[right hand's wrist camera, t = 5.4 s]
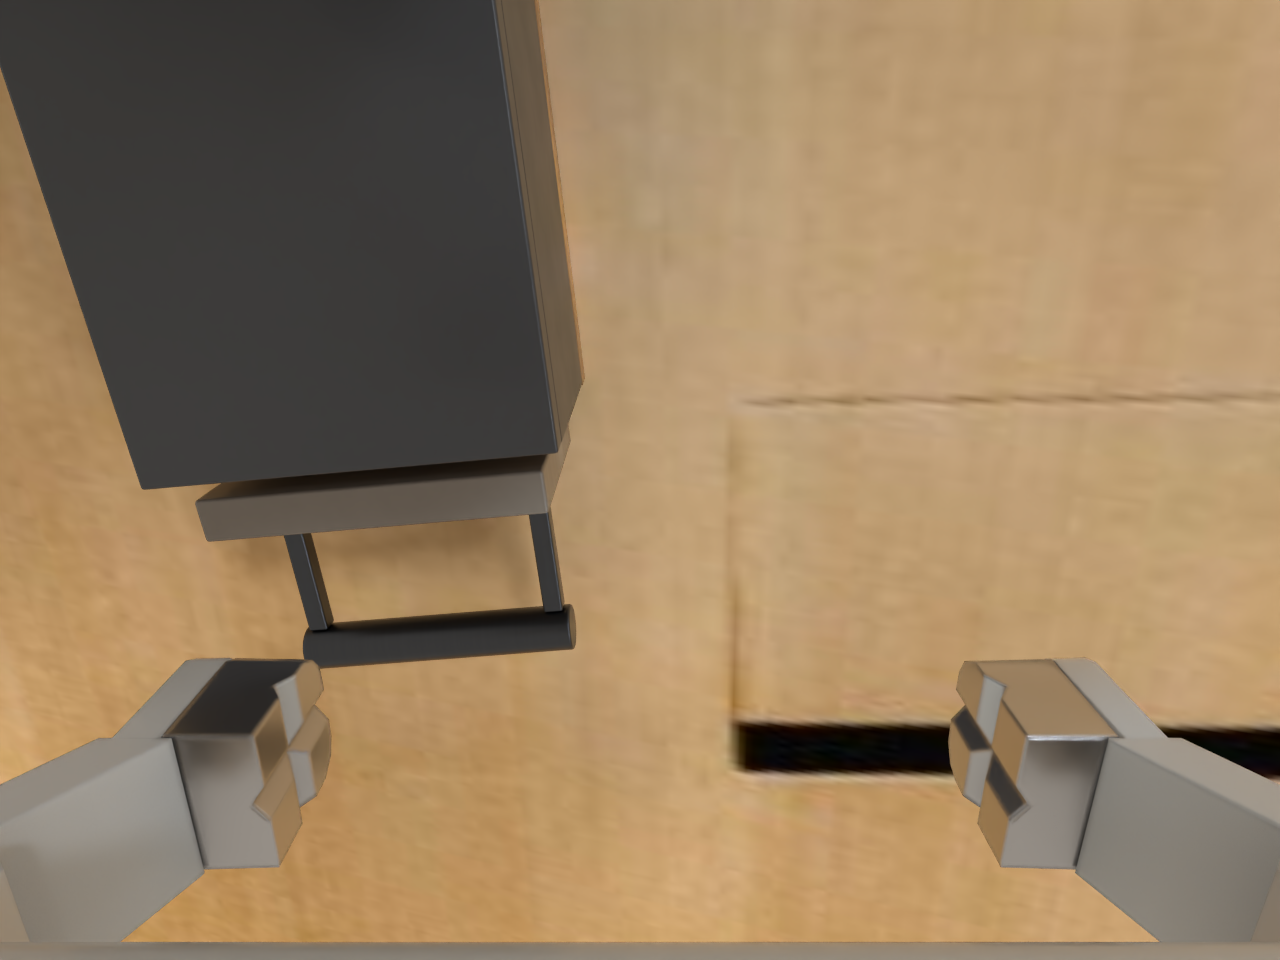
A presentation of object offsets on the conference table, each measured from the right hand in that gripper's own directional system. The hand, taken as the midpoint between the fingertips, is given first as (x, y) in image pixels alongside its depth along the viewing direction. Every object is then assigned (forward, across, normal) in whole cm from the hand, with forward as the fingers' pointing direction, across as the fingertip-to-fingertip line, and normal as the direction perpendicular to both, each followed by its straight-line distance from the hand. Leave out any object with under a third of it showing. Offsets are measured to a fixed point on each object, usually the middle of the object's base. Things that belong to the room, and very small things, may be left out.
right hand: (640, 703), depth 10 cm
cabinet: (+18, +8, -9) cm, 21 cm away
